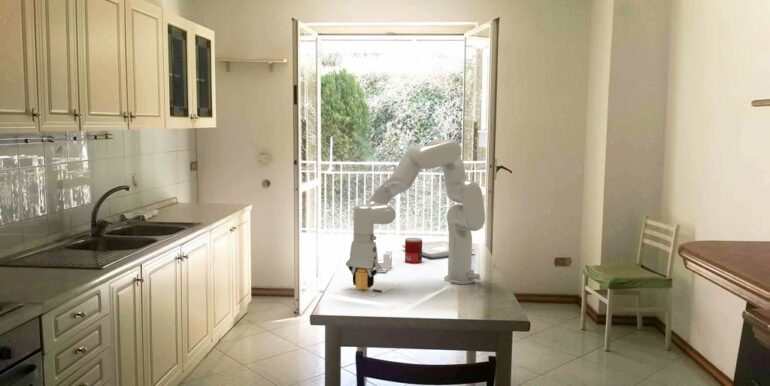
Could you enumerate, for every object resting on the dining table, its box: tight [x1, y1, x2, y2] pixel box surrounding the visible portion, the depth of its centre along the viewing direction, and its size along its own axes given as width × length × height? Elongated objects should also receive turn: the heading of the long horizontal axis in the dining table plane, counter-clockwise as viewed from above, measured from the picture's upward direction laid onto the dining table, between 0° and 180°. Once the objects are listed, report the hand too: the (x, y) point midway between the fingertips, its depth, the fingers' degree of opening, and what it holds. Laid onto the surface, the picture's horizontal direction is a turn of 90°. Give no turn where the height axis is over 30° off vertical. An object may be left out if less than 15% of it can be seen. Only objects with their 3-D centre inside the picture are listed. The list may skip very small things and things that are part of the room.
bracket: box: [373, 250, 393, 272], centre depth 275 cm, size 13×7×8 cm, turn 80°
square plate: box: [401, 240, 475, 259], centre depth 312 cm, size 27×27×4 cm
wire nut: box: [354, 268, 371, 289], centre depth 232 cm, size 6×6×7 cm
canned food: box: [404, 237, 423, 265], centre depth 289 cm, size 8×8×11 cm
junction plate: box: [345, 280, 399, 297], centre depth 235 cm, size 12×20×6 cm, turn 150°
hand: (363, 284), depth 232 cm, fingers closed on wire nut, 5 cm apart
